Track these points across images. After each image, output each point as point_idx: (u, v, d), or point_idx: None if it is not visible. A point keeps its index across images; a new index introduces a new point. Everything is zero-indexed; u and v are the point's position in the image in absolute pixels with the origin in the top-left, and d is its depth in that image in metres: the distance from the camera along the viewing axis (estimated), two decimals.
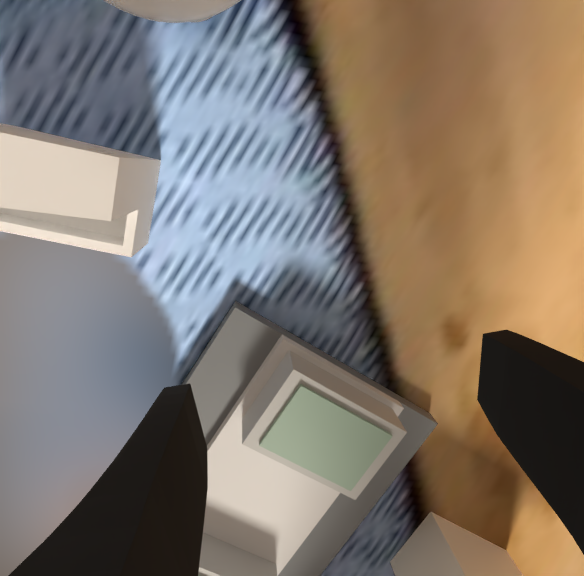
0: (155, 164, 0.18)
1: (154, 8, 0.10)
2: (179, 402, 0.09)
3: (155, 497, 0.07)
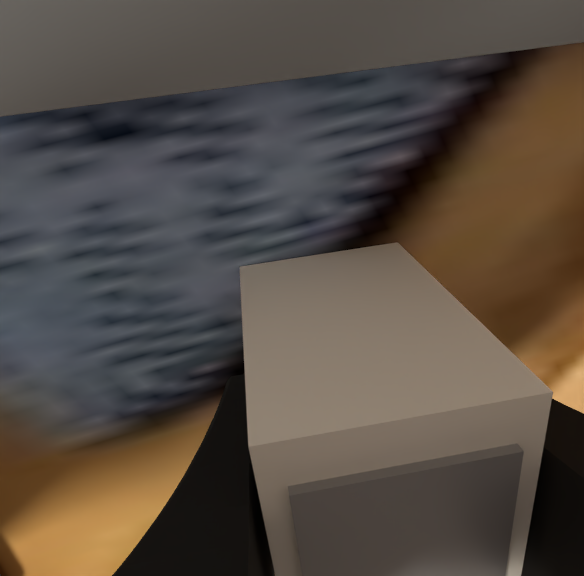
0: None
1: None
2: None
3: (251, 479, 0.07)
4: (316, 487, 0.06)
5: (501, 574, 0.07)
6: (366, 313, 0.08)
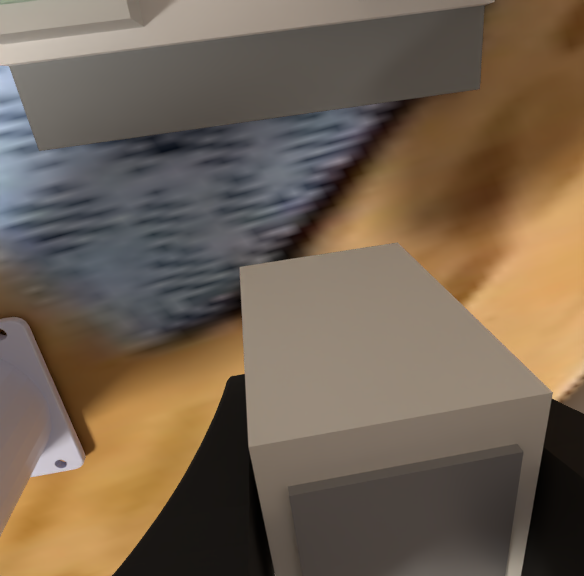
0: None
1: None
2: None
3: (251, 479, 0.07)
4: (316, 488, 0.06)
5: (501, 574, 0.07)
6: (366, 314, 0.08)
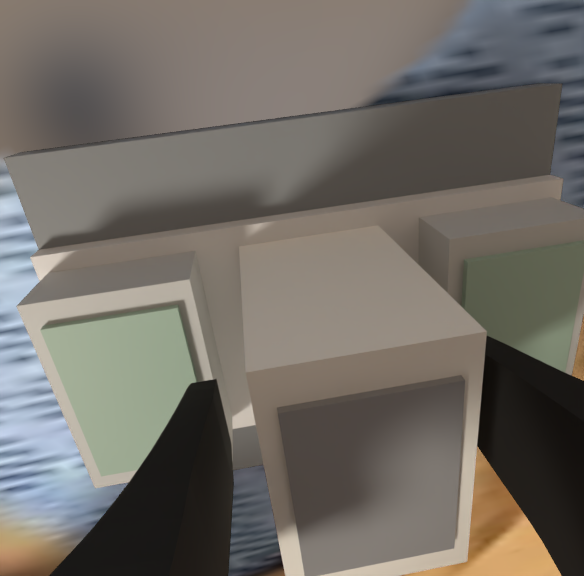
0: None
1: None
2: (208, 397, 0.09)
3: (193, 490, 0.07)
4: (300, 409, 0.08)
5: (454, 490, 0.09)
6: (345, 280, 0.10)
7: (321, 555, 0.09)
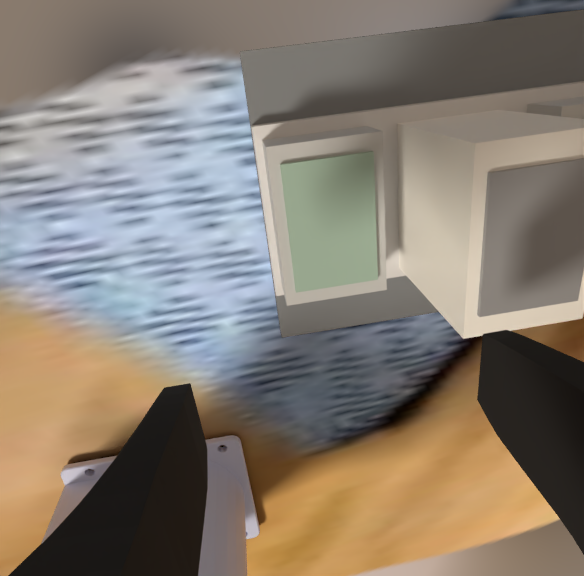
0: None
1: None
2: (179, 402, 0.09)
3: (155, 497, 0.07)
4: (500, 175, 0.12)
5: None
6: (501, 122, 0.14)
7: (493, 297, 0.13)
